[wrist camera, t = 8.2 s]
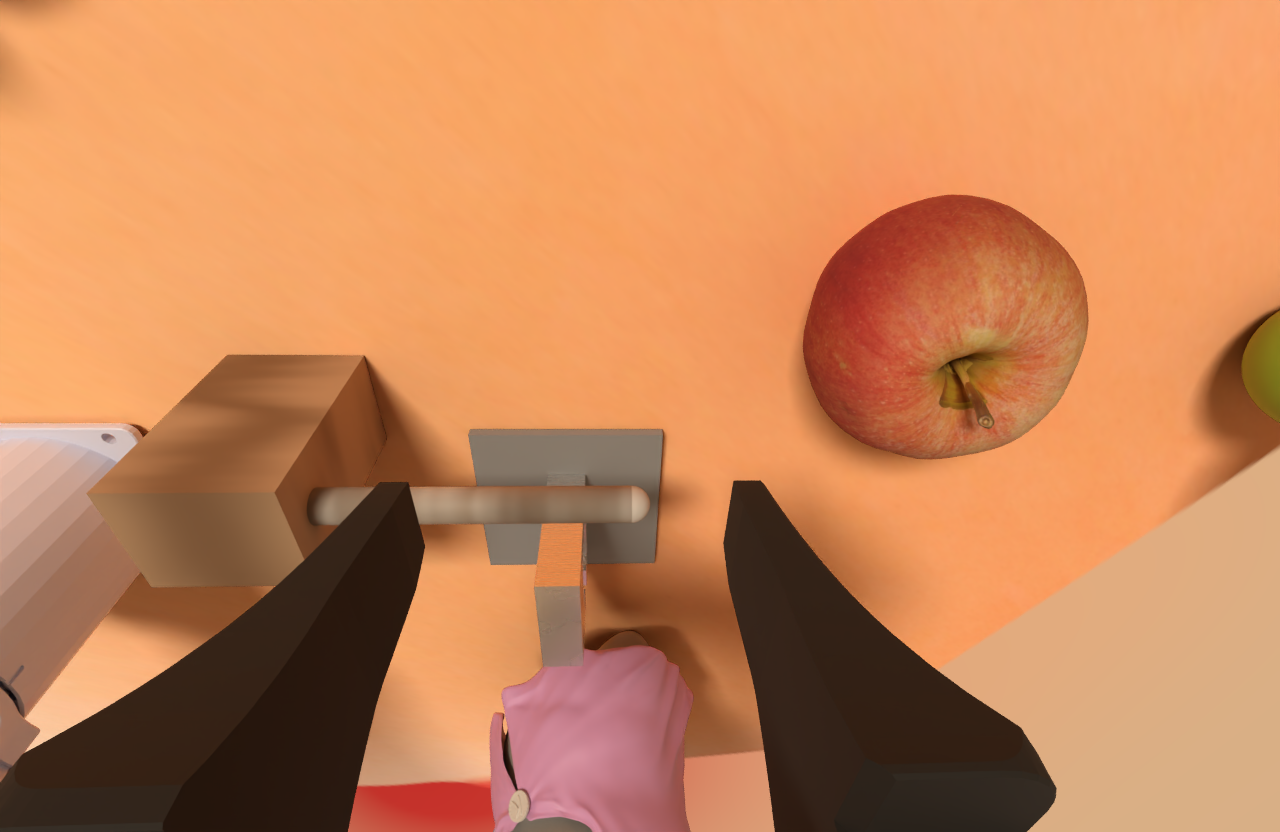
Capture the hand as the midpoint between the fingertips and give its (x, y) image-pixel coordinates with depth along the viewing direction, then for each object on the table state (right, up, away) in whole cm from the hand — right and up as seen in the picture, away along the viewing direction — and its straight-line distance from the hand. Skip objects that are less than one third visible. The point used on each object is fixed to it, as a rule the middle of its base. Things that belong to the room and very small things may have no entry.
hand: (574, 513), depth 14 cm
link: (-2, -2, +14) cm, 14 cm away
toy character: (-2, -11, +21) cm, 24 cm away
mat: (-2, -2, +14) cm, 14 cm away
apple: (+11, +7, +9) cm, 15 cm away
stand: (-6, +3, +10) cm, 13 cm away
